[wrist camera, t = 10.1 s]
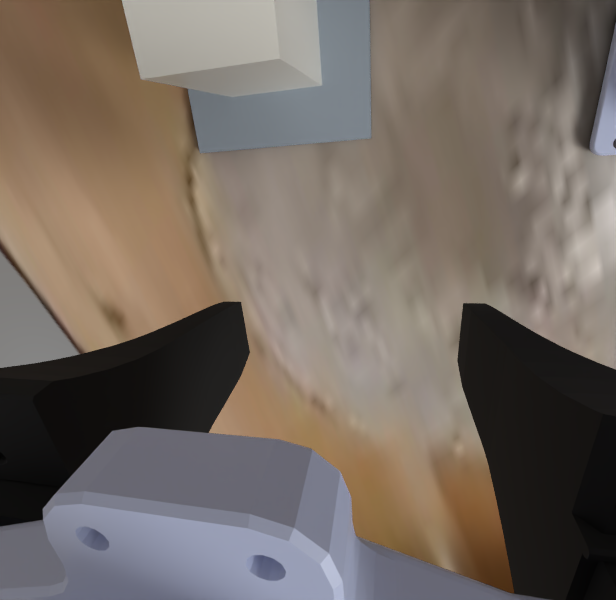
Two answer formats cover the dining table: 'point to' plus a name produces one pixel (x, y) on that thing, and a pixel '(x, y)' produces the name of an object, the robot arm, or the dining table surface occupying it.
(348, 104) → the slate mat
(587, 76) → the dining table surface
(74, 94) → the dining table surface
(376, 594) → the robot arm
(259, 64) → the cream block
